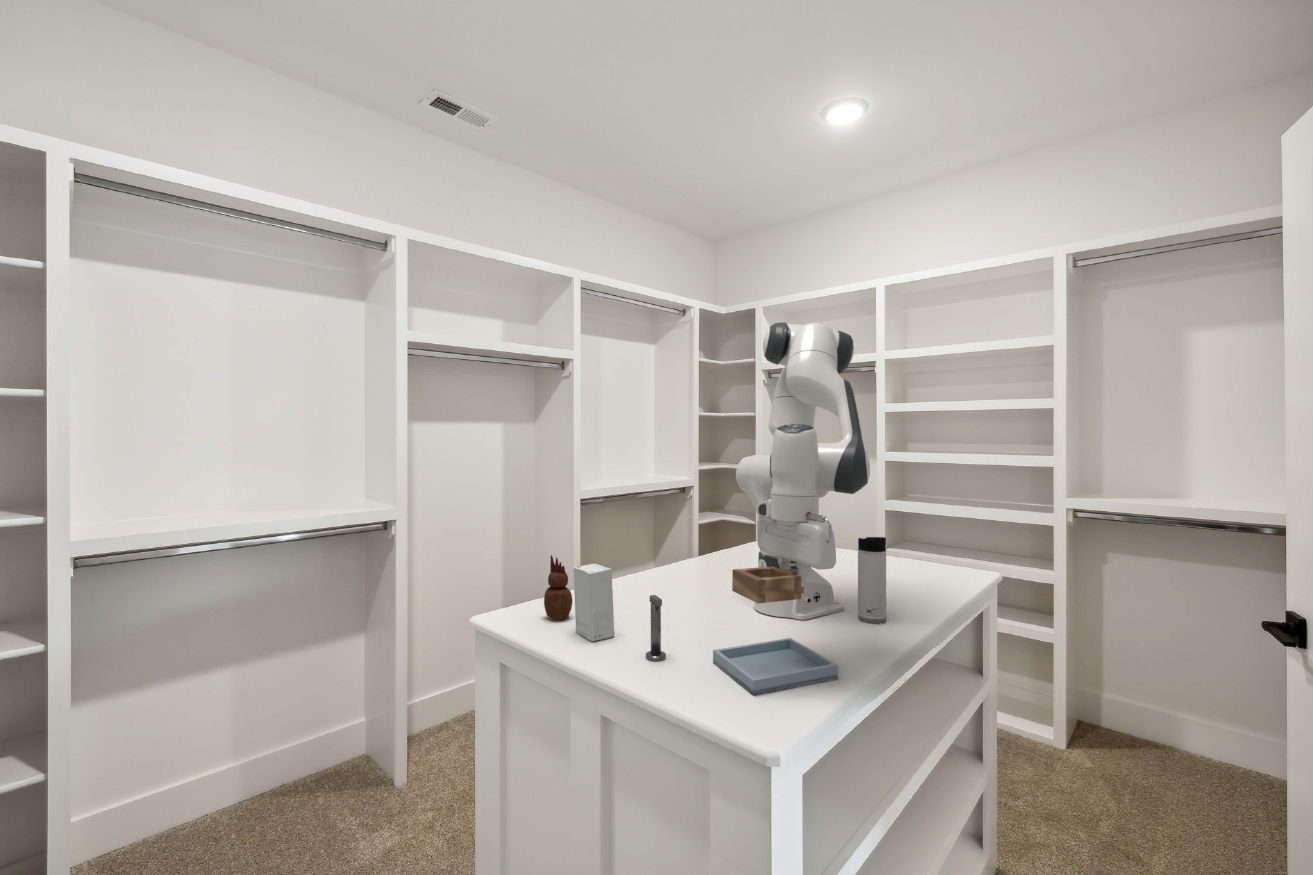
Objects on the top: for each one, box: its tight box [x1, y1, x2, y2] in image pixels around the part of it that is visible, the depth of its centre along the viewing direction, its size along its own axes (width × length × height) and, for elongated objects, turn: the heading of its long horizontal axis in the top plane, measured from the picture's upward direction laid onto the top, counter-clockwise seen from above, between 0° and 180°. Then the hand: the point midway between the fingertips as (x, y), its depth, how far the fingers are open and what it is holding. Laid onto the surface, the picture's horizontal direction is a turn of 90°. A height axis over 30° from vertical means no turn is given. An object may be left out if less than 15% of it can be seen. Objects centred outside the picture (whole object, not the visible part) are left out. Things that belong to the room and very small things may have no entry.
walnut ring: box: [731, 566, 804, 604], centre depth 104 cm, size 12×9×4 cm
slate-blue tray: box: [712, 637, 839, 696], centre depth 105 cm, size 18×15×2 cm
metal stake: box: [645, 594, 667, 662], centre depth 111 cm, size 4×4×12 cm
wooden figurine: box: [543, 554, 573, 621], centre depth 135 cm, size 7×6×15 cm
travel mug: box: [857, 536, 887, 625], centre depth 133 cm, size 6×7×20 cm
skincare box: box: [573, 563, 615, 642], centre depth 124 cm, size 8×6×15 cm
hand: (793, 583), depth 106 cm, fingers closed on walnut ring, 2 cm apart
